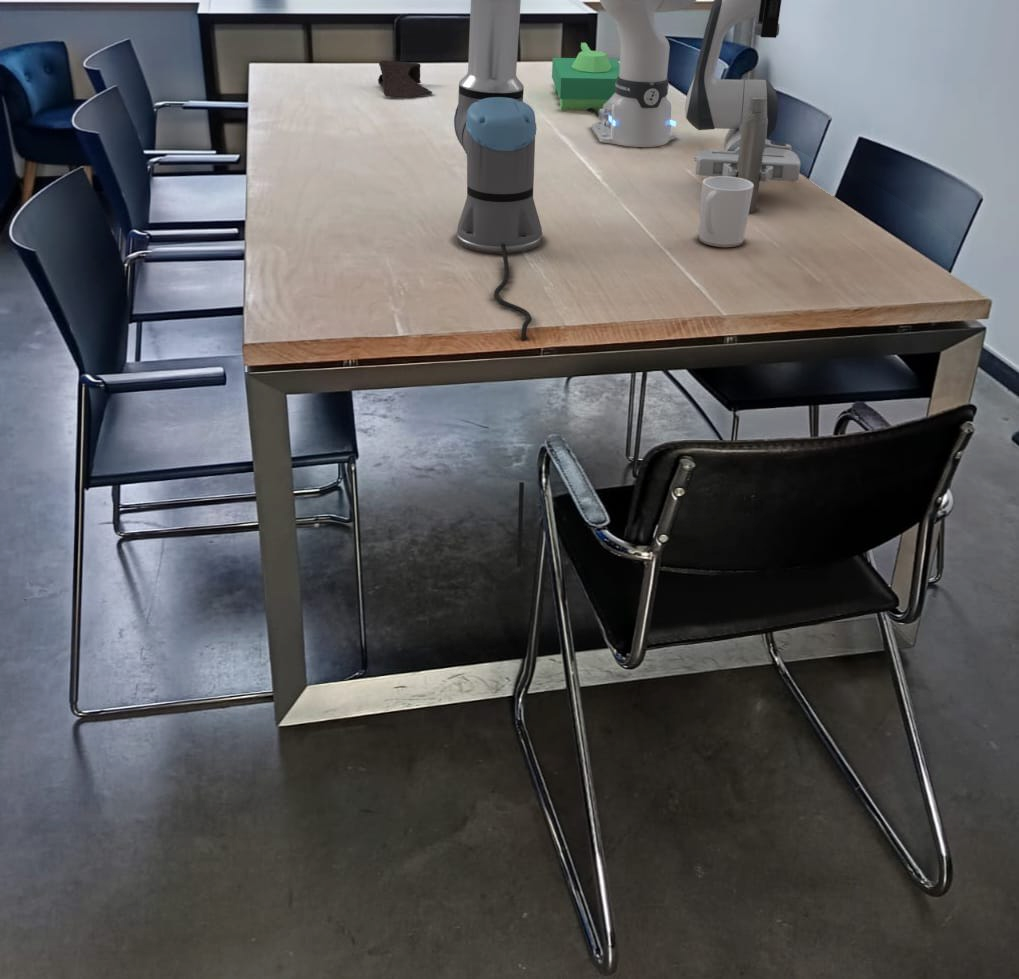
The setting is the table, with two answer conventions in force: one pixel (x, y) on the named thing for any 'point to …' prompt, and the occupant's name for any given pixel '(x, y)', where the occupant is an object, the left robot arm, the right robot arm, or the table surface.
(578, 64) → the toy tank
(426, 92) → the axe head
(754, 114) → the bottle
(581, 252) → the table surface
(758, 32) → the cap
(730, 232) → the mug
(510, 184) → the left robot arm
